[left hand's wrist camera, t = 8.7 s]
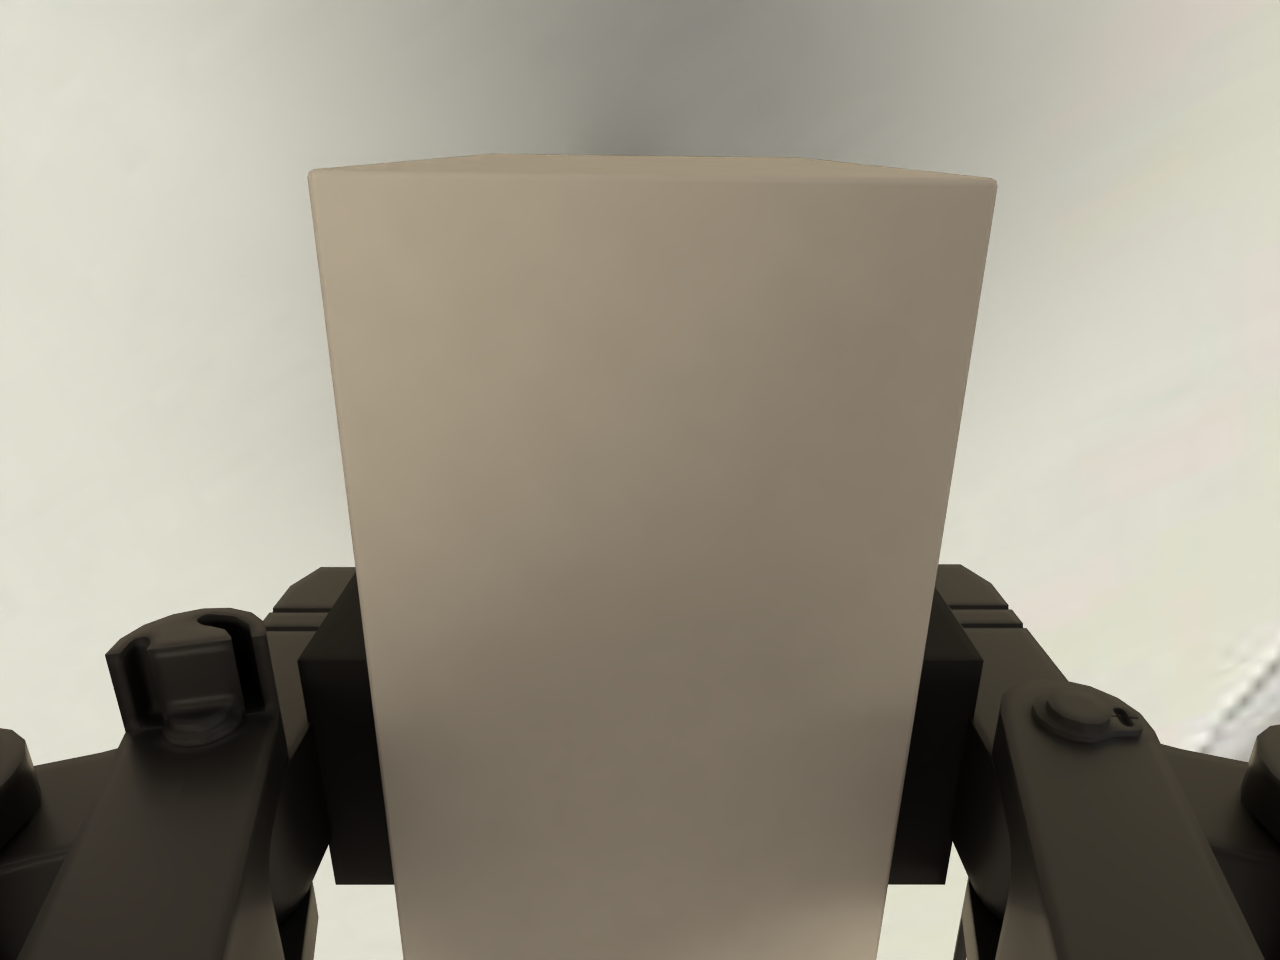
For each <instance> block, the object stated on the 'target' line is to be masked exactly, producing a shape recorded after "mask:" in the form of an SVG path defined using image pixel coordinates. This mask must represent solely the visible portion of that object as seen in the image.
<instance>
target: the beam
mask: <svg viewBox="0 0 1280 960" xmlns="http://www.w3.org/2000/svg"><path fill="white" fill-rule="evenodd" d="M308 184H309V192H310V201H311V209H312V217H313V225H314V233H315V241H316V249H317V258H318V266H319V274H320V282H321V290H322V298H323V306H324V315H325V323H326V331H327V339H328V347H329V355H330V363H331V372H332V380H333V388H334V396H335V404H336V412H337V420H338V429H339V437H340V445H341V453H342V461H343V469H344V478H345V486H346V494H347V502H348V510H349V518H350V526H351V535H352V543H353V551H354V559H355V567H356V575H357V583H358V592H359V600H360V608H361V616H362V624H363V632H364V640H365V649H366V657H367V665H368V673H369V681H370V689H371V697H372V706H373V714H374V722H375V730H376V738H377V746H378V754H379V763H380V771H381V779H382V787H383V795H384V803H385V811H386V820H387V828H388V836H389V844H390V852H391V860H392V869H393V877H394V885H395V893H396V901H397V909H398V917H399V926H400V934H401V942H402V950H403V958H404V960H876V957H877V951H878V945H879V938H880V932H881V925H882V919H883V913H884V906H885V900H886V894H887V887H888V881H889V874H890V868H891V862H892V855H893V849H894V843H895V836H896V830H897V823H898V817H899V811H900V804H901V798H902V792H903V785H904V779H905V772H906V766H907V760H908V753H909V747H910V741H911V734H912V728H913V721H914V715H915V709H916V702H917V696H918V690H919V683H920V677H921V670H922V664H923V658H924V651H925V645H926V639H927V632H928V626H929V620H930V613H931V607H932V600H933V594H934V588H935V581H936V575H937V569H938V562H939V556H940V549H941V543H942V537H943V530H944V524H945V518H946V511H947V505H948V498H949V492H950V486H951V479H952V473H953V467H954V460H955V454H956V447H957V441H958V435H959V428H960V422H961V416H962V409H963V403H964V396H965V390H966V384H967V377H968V371H969V365H970V358H971V352H972V345H973V339H974V333H975V326H976V320H977V314H978V307H979V301H980V294H981V288H982V282H983V275H984V269H985V263H986V256H987V250H988V243H989V237H990V231H991V224H992V218H993V212H994V205H995V199H996V192H997V182H996V180H993V179H991V178H984V177H975V176H966V175H956V174H947V173H938V172H929V171H919V170H910V169H901V168H892V167H883V166H873V165H864V164H855V163H846V162H837V161H827V160H818V159H809V158H785V157H709V156H634V155H559V154H484V155H472V156H461V157H449V158H438V159H426V160H415V161H403V162H392V163H381V164H369V165H358V166H346V167H335V168H323V169H314V170H312V171H309V174H308Z"/></svg>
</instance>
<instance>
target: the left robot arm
mask: <svg viewBox="0 0 1280 960" xmlns="http://www.w3.org/2000/svg"><path fill="white" fill-rule="evenodd" d="M105 657H106V661H107V664H108V668H109V672H110V676H111V679H112V683H113V687H114V690H115V694H116V698H117V702H118V705H119V709H120V713H121V716H122V720H123V724H124V728H125V731H126V733H125V735H124V737H123V739H122V741H121V743H120V745H119V747H118V748H117V749H113V750H110V751H106V752H102V753H97V754H92V755H87V756H82V757H77V758H72V759H67V760H62V761H57V762H52V763H47V764H42V765H37V766H33V763H32V760H31V757H30V754H29V751H28V748H27V745H26V742H25V740H24V739H23V738H22V737H20V736H19V735H18V734H17V733H15V732H14V731H13V730H9V729H2V728H0V960H313V959H314V950H315V942H316V933H317V925H318V911H317V905H316V898H315V893H314V887H313V882H312V881H313V879H314V876H315V874H316V872H317V870H318V867H319V865H320V863H321V860H322V858H323V856H324V854H325V851H326V849H327V847H328V845H329V848H330V854H331V860H332V865H333V871H334V877H335V883H336V885H394V877H393V869H392V860H391V852H390V844H389V836H388V828H387V820H386V811H385V803H384V795H383V787H382V779H381V771H380V763H379V754H378V746H377V738H376V730H375V722H374V714H373V706H372V697H371V689H370V681H369V673H368V665H367V657H366V649H365V640H364V632H363V624H362V616H361V608H360V600H359V592H358V583H357V575H356V567H320V568H319V569H317V570H316V571H314V572H312V573H311V574H309V575H308V576H306V577H304V578H303V579H301V580H299V581H298V582H296V583H295V584H293V585H291V586H290V587H289V588H288V590H287V591H286V592H285V594H284V595H283V596H282V597H281V599H280V600H279V601H278V603H277V604H276V605H275V606H274V608H273V613H269V614H268V615H267V617H266V618H265V619H264V620H263V621H262V620H261V619H260V618H258V617H257V616H256V615H254V614H253V613H251V612H247V611H242V610H238V609H233V608H206V609H198V610H193V611H188V612H183V613H178V614H173V615H170V616H167V617H165V618H162V619H159V620H156V621H154V622H151V623H148V624H145V625H143V626H141V627H140V628H138V629H136V630H135V631H133V632H131V633H130V634H128V635H126V636H124V637H123V638H121V639H120V640H119V641H118V642H117V643H116V644H115V645H114V646H113V647H112V648H111V649H110V650H109V651H108V652H107V653H106V654H105ZM952 841H953V843H954V845H955V848H956V850H957V852H958V854H959V857H960V859H961V861H962V863H963V866H964V868H965V870H966V872H967V875H968V882H967V887H966V893H965V898H964V903H963V909H962V914H961V920H960V925H959V930H958V936H957V941H956V947H955V952H954V958H953V960H966V957H967V960H1280V725H1275V726H1270V727H1269V728H1267V729H1266V730H1265V731H1263V732H1262V733H1261V734H1259V735H1258V736H1257V738H1256V741H1255V745H1254V748H1253V751H1252V754H1251V757H1250V760H1249V763H1248V762H1243V761H1238V760H1233V759H1228V758H1223V757H1218V756H1213V755H1208V754H1203V753H1198V752H1193V751H1188V750H1183V749H1178V748H1175V747H1171V746H1167V745H1163V744H1160V742H1159V739H1158V737H1157V735H1156V733H1155V731H1154V730H1153V729H1152V727H1151V726H1150V725H1149V724H1148V722H1147V721H1146V720H1145V719H1144V717H1143V716H1142V715H1141V714H1140V713H1139V712H1137V711H1136V710H1134V709H1133V708H1132V707H1130V706H1129V705H1127V704H1126V703H1124V702H1123V701H1121V700H1120V699H1119V698H1117V697H1114V696H1112V695H1109V694H1107V693H1105V692H1102V691H1100V690H1098V689H1095V688H1093V687H1091V686H1086V685H1082V684H1078V683H1073V682H1069V681H1068V680H1067V679H1066V678H1065V676H1064V675H1063V674H1062V673H1061V671H1060V670H1059V669H1058V667H1057V666H1056V665H1055V664H1054V662H1053V661H1052V660H1051V659H1050V657H1049V656H1048V655H1047V654H1046V652H1045V651H1044V650H1043V648H1042V647H1041V646H1040V645H1039V643H1038V642H1037V641H1036V640H1035V638H1034V637H1033V636H1032V635H1031V633H1030V632H1029V631H1028V629H1027V628H1023V623H1022V622H1021V621H1020V619H1019V618H1018V617H1017V616H1016V614H1015V613H1014V612H1013V610H1009V609H1008V604H1007V603H1006V602H1005V600H1004V599H1003V598H1002V597H1001V595H1000V594H999V593H998V591H997V590H996V589H995V588H994V586H993V585H992V584H991V583H990V582H988V581H987V580H985V579H983V578H982V577H980V576H978V575H977V574H975V573H974V572H972V571H970V570H969V569H967V568H965V567H964V566H962V565H961V564H938V569H937V575H936V581H935V588H934V594H933V600H932V607H931V613H930V620H929V626H928V632H927V639H926V645H925V651H924V658H923V664H922V670H921V677H920V683H919V690H918V696H917V702H916V709H915V715H914V721H913V728H912V734H911V741H910V747H909V753H908V760H907V766H906V772H905V779H904V785H903V792H902V798H901V804H900V811H899V817H898V823H897V830H896V836H895V843H894V849H893V855H892V862H891V868H890V874H889V881H888V884H939V885H945V881H946V875H947V870H948V864H949V858H950V852H951V847H952Z"/></svg>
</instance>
